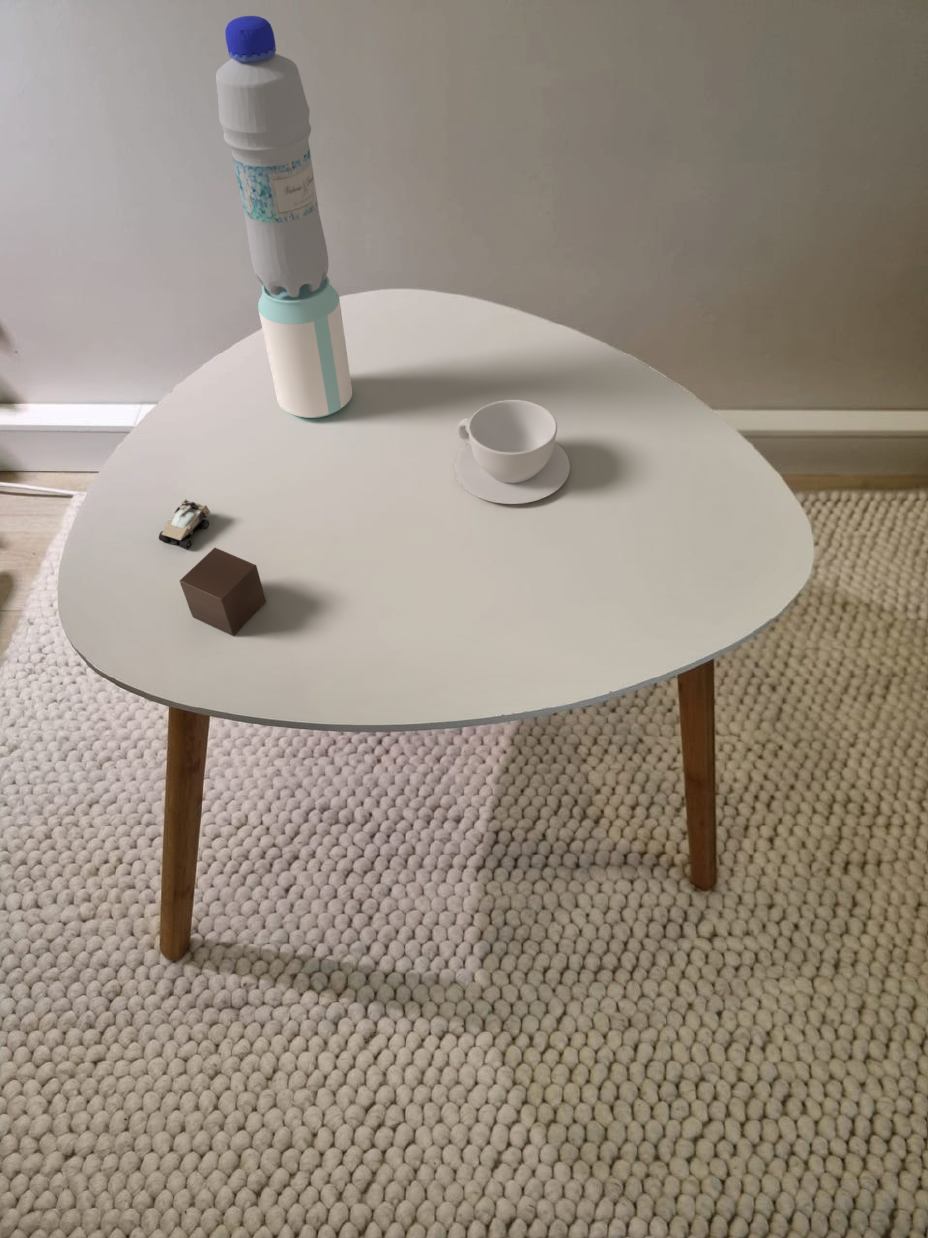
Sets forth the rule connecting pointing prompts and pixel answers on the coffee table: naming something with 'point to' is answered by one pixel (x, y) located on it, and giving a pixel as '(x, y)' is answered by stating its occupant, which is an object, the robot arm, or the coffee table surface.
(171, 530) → the toy car
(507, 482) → the teacup
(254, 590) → the walnut block
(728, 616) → the coffee table surface
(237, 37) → the bottle
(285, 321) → the can
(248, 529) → the coffee table surface
